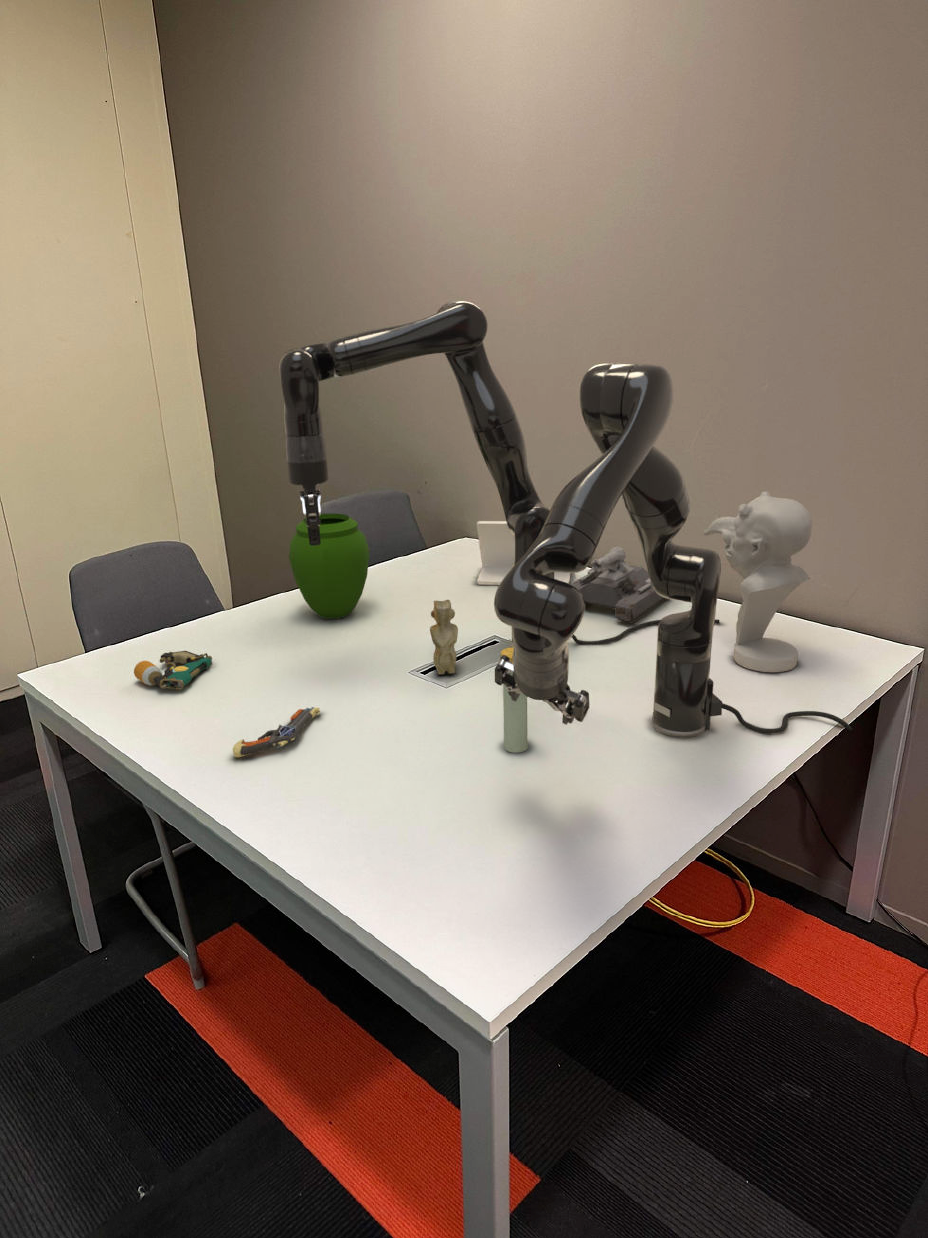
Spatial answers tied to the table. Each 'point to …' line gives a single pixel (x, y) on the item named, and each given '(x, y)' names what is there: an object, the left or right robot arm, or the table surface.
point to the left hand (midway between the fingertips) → (314, 539)
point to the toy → (619, 587)
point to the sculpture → (444, 637)
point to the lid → (508, 653)
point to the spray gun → (172, 669)
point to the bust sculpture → (764, 574)
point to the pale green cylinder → (515, 722)
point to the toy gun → (277, 734)
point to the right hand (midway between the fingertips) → (541, 707)
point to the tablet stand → (499, 553)
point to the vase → (330, 565)
